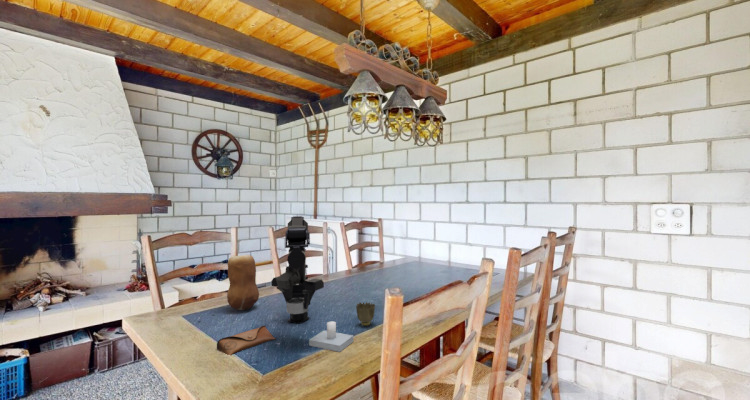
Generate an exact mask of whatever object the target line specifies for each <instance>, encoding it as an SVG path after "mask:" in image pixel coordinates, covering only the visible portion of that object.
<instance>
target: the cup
mask: <svg viewBox="0 0 750 400" xmlns="http://www.w3.org/2000/svg"><path fill="white" fill-rule="evenodd" d="M355 307H356V309H355V310H356V314H357V315H356V316H357V319H358V321H359V322H360V324H361V326H363V327H369V326H370V325H371V322H372V321H373V320H374V316H375V310H376V309H375V308H376V305H375V303H372V302H371V303H370V302H367V301H366V302H359V303H356V305H355Z"/></svg>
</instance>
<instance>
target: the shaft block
mask: <svg viewBox="0 0 750 400" xmlns="http://www.w3.org/2000/svg"><path fill="white" fill-rule="evenodd" d="M308 339H309V338H308ZM353 342H354V335H353V334H347V333H340V332H337V322H336V321H333V320H332V321H328V322H326V330H322V331H321V332H319V333H318V334H316V335H314V336H313V337H311V338H310V339H309V340H308V345H309V346H310V347H315V348H317V349H318V348H319V349H323V350H329V351H332V352H338V353H340V352H342V351H344V350H345V348H347V347H348V346H349V345H350V344H352V343H353Z"/></svg>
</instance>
